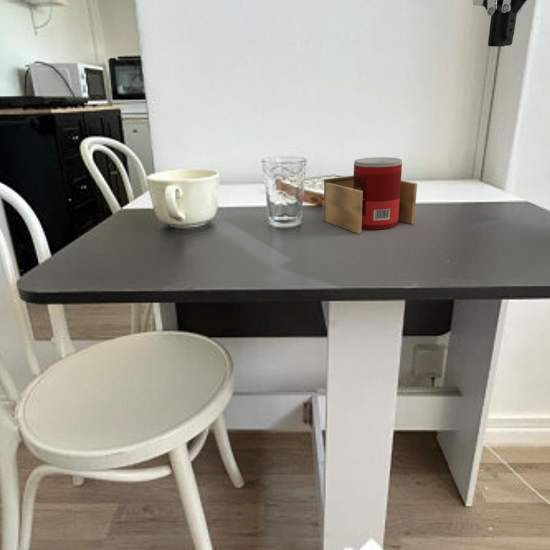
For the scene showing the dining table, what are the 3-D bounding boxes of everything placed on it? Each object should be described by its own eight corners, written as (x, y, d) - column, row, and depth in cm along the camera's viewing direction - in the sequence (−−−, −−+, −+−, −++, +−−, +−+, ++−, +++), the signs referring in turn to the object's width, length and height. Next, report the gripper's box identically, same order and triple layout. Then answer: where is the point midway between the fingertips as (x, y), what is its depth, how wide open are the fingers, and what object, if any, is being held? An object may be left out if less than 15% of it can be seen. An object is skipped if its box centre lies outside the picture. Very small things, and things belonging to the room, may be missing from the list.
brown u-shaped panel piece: (414, 223, 76) (417, 179, 73) (358, 234, 71) (360, 187, 69) (375, 212, 85) (377, 172, 82) (323, 220, 80) (323, 178, 78)
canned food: (406, 222, 77) (410, 158, 73) (382, 232, 72) (386, 164, 68) (368, 216, 82) (370, 156, 78) (343, 225, 77) (344, 161, 73)
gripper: (597, -132, 53) (566, 39, 60) (491, -85, 66) (475, 52, 72) (558, -143, 50) (530, 37, 57) (455, -92, 63) (442, 51, 69)
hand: (499, 45), depth 64 cm, fingers closed
